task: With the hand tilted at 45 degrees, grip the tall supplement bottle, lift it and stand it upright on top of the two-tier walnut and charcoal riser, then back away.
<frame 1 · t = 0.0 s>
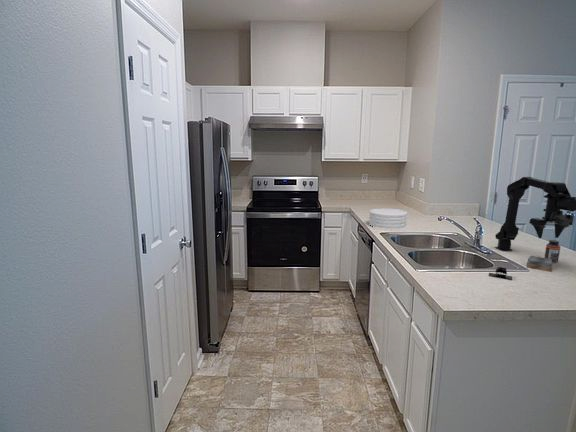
hand: (548, 238, 167), 15 cm above the table, tool pointing down, fingers open, 9 cm apart
build plate: (500, 277, 156), on the table
riser: (539, 267, 168), on the table
plate stack: (387, 226, 259), on the table
supplement bottle: (550, 261, 177), on the table
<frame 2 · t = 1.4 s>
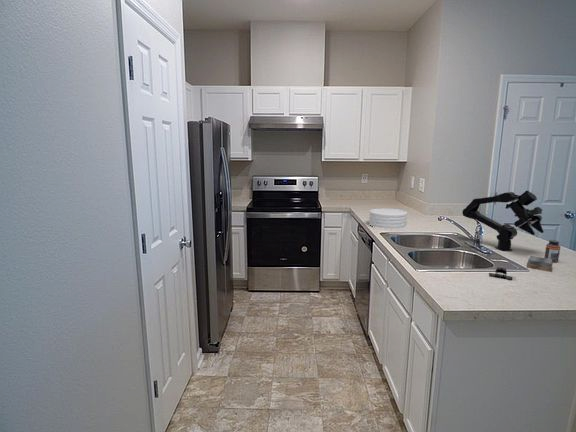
hand: (538, 233, 181), 13 cm above the table, tool tilted 45°, fingers open, 9 cm apart
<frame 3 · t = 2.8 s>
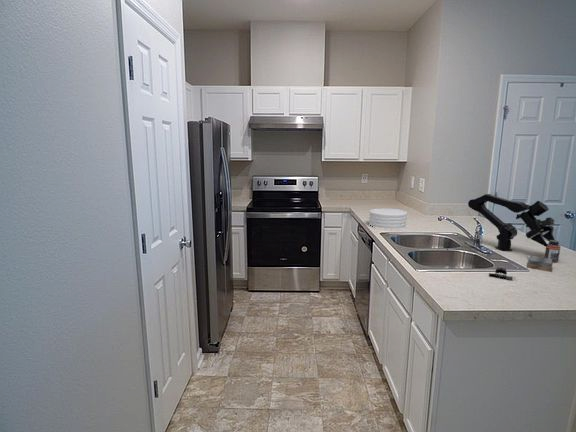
hand: (551, 244, 176), 9 cm above the table, tool tilted 45°, fingers open, 9 cm apart
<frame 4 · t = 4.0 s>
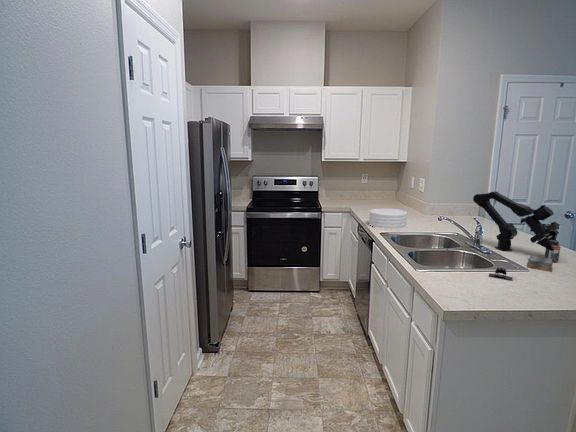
hand: (555, 249, 175), 7 cm above the table, tool tilted 45°, fingers closed on supplement bottle, 6 cm apart
supplement bottle: (550, 261, 177), on the table, touching gripper
everything else where it was.
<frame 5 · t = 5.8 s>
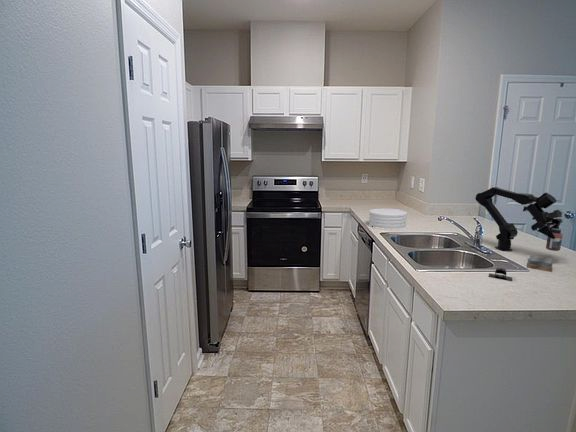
hand: (557, 238, 172), 14 cm above the table, tool tilted 45°, fingers closed on supplement bottle, 6 cm apart
supplement bottle: (552, 249, 174), point 7 cm above the table, touching gripper
when the fingers open (12 cm above the table, at t = 7.6 s): supplement bottle stays where it is, resting on riser.
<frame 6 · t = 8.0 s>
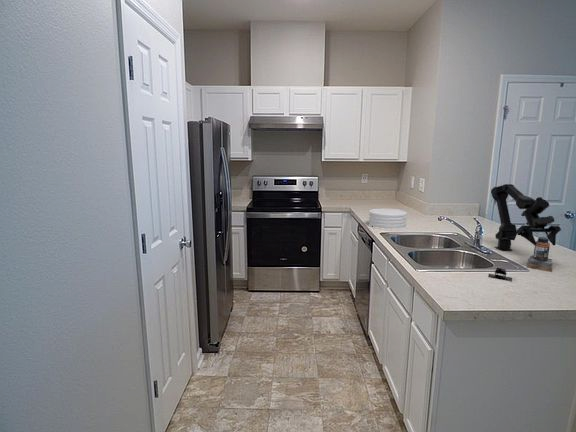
hand: (544, 245, 164), 12 cm above the table, tool tilted 45°, fingers open, 9 cm apart
supplement bottle: (540, 259, 167), point 4 cm above the table, touching riser
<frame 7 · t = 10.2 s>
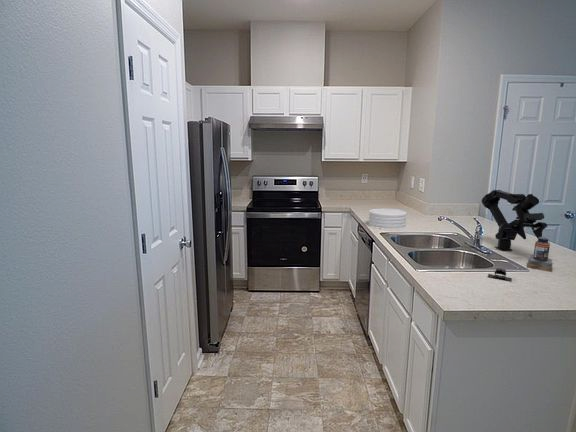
hand: (533, 239, 174), 12 cm above the table, tool tilted 40°, fingers open, 9 cm apart
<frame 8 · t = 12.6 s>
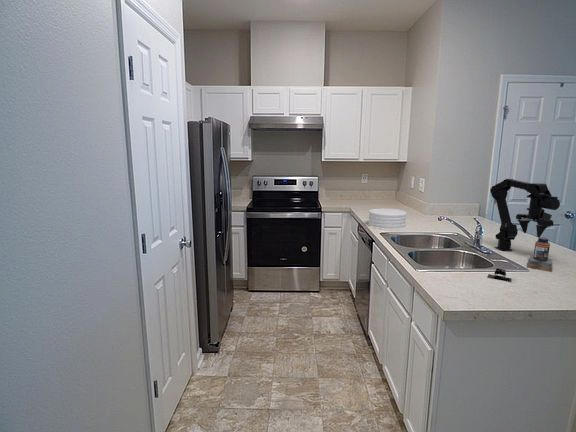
hand: (531, 235, 180), 13 cm above the table, tool pointing down, fingers open, 9 cm apart
at the end: supplement bottle 0.1 cm off-centre on the riser, point 3.8 cm above the riser's base; supplement bottle tilted 0°; the gripper is holding nothing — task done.
